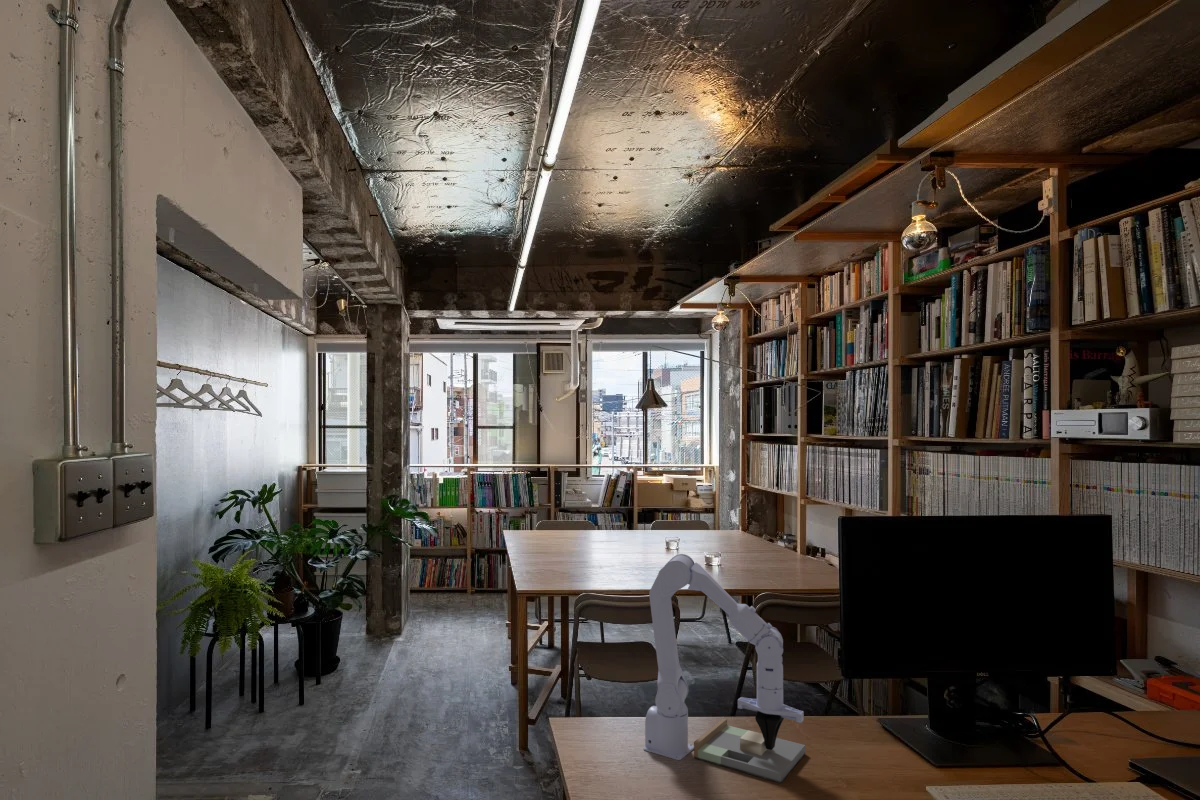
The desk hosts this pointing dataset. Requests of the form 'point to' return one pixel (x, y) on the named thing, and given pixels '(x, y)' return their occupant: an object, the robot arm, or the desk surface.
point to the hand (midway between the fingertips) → (770, 747)
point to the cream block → (753, 743)
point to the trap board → (747, 753)
